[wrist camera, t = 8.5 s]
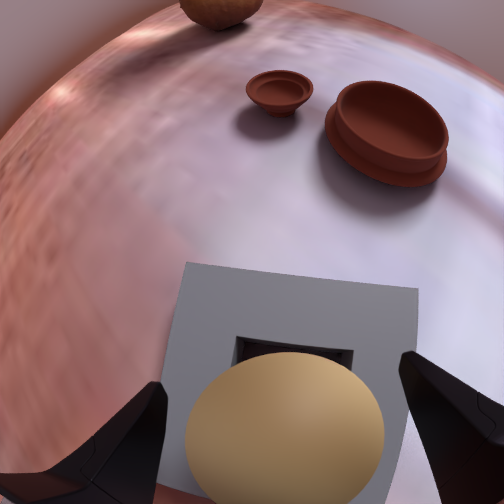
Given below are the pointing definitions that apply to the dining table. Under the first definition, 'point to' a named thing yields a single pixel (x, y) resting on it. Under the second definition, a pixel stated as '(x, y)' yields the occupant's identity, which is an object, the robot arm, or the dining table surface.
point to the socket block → (285, 335)
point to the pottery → (368, 125)
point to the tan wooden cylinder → (285, 432)
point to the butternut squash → (219, 12)
